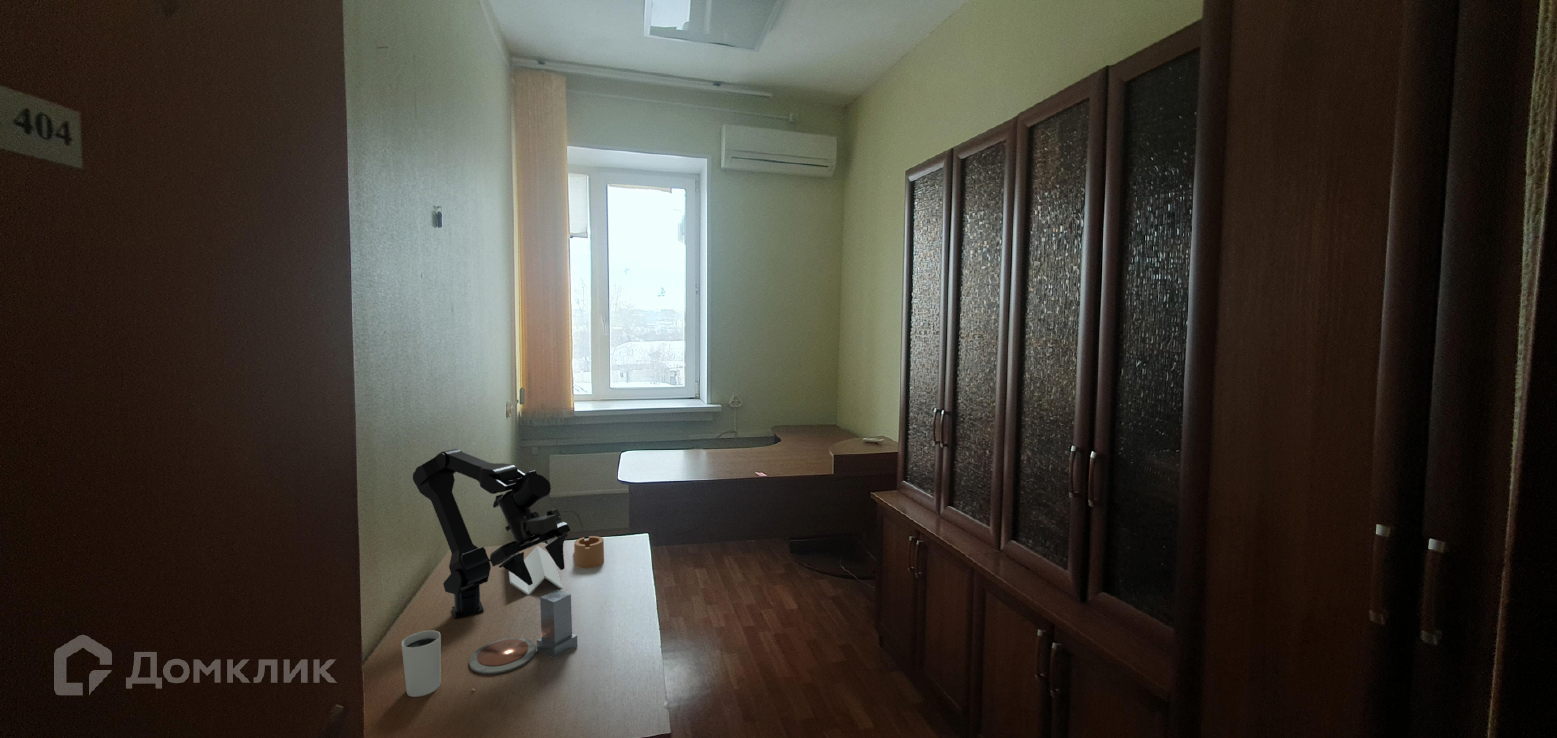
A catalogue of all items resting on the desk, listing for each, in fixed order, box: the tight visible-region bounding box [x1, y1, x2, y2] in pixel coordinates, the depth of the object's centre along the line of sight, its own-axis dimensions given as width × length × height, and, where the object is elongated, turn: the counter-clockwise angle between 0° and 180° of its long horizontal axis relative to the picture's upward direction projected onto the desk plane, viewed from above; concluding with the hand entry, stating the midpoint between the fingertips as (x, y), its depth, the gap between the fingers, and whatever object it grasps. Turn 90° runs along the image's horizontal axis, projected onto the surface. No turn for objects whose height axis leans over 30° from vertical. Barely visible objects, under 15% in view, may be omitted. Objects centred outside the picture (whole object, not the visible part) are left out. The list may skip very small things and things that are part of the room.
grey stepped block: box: [536, 589, 579, 660], centre depth 133 cm, size 6×6×12 cm
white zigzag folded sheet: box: [508, 545, 563, 596], centre depth 172 cm, size 12×25×6 cm
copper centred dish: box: [468, 637, 537, 675], centre depth 130 cm, size 13×13×1 cm
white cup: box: [400, 629, 442, 698], centre depth 118 cm, size 7×7×10 cm
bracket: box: [573, 535, 605, 569], centre depth 185 cm, size 18×8×7 cm, turn 20°
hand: (547, 576), depth 137 cm, fingers open, 9 cm apart
